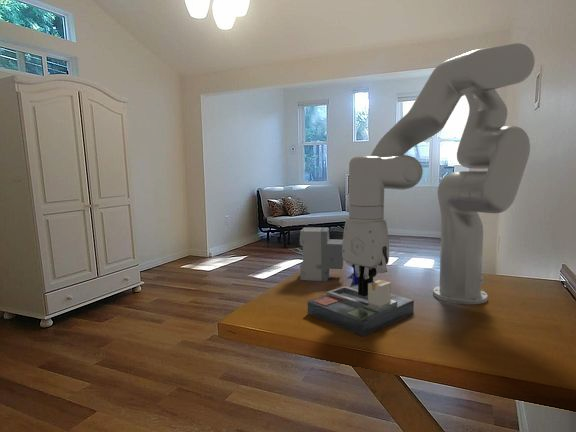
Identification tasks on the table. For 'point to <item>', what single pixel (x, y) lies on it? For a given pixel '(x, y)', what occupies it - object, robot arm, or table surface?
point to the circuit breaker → (319, 254)
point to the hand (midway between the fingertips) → (365, 294)
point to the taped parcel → (379, 293)
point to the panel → (358, 310)
